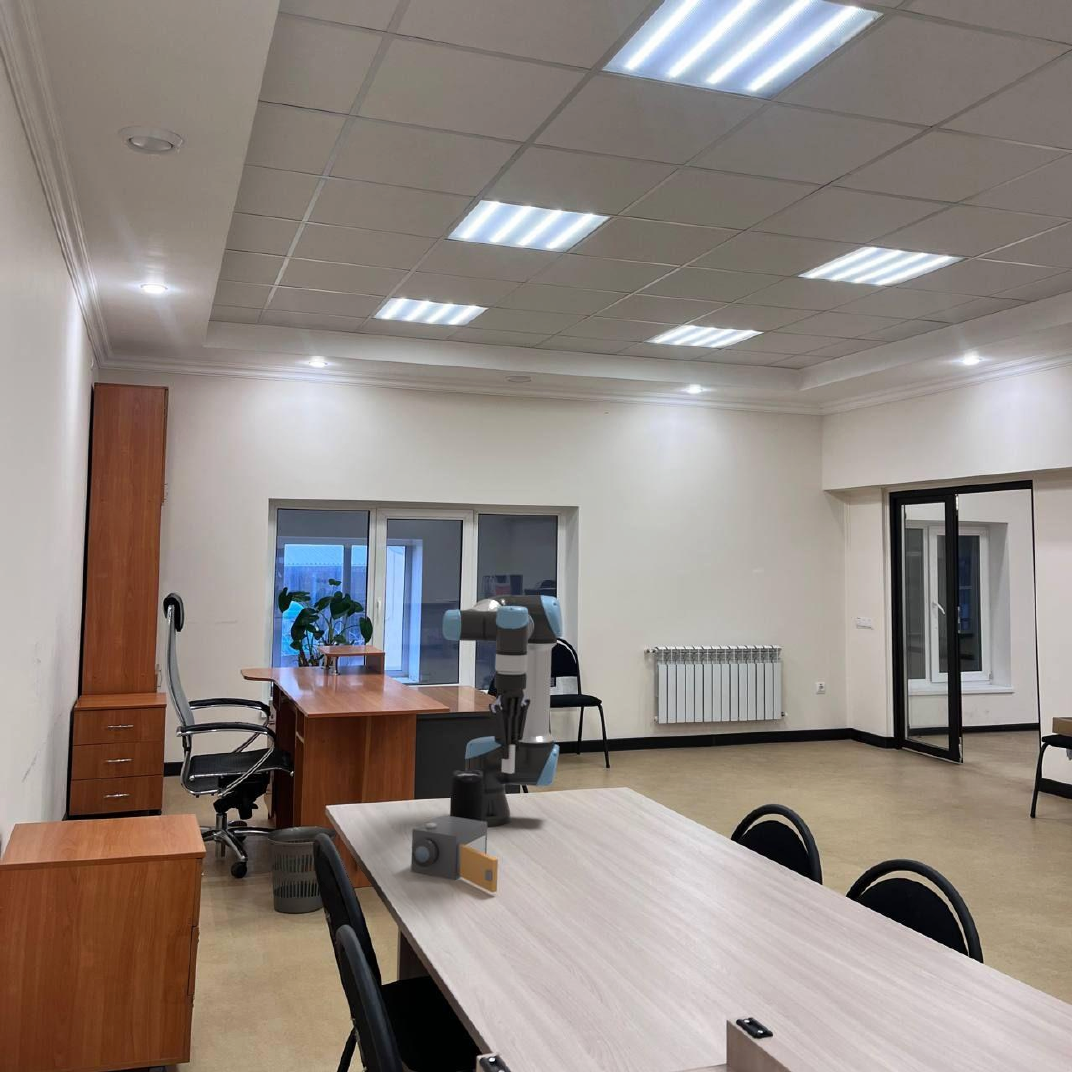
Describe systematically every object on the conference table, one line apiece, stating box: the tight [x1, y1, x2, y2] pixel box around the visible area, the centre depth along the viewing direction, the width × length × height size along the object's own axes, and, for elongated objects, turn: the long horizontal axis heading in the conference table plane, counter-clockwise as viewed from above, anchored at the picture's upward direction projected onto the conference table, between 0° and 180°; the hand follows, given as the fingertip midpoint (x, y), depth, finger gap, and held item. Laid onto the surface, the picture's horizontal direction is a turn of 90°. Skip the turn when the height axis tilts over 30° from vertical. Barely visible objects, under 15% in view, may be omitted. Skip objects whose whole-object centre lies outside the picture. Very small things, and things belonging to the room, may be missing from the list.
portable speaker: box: [449, 769, 484, 821], centre depth 249 cm, size 9×9×20 cm
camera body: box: [410, 814, 488, 881], centre depth 232 cm, size 18×12×11 cm
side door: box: [458, 844, 499, 893], centre depth 219 cm, size 14×2×7 cm, turn 38°
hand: (507, 772), depth 228 cm, fingers closed
